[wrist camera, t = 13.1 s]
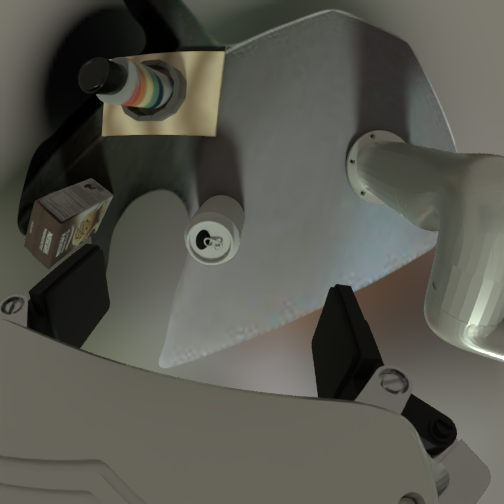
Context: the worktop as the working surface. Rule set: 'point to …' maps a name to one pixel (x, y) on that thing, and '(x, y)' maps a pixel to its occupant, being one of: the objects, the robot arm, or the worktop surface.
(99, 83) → the lotion bottle
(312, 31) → the worktop surface
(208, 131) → the bottle holder
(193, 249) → the can
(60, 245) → the coffee box
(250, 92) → the worktop surface
